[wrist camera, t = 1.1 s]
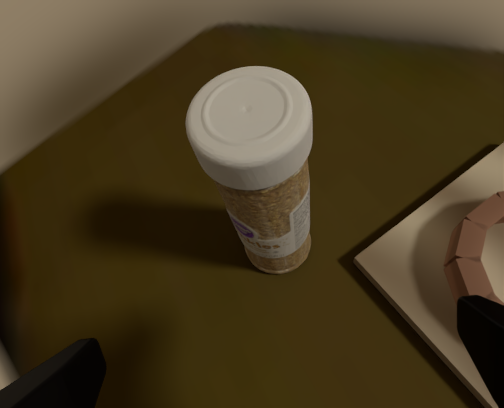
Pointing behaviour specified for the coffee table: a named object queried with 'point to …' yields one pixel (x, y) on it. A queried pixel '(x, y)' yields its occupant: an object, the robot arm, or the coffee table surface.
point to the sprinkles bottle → (258, 159)
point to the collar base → (422, 265)
